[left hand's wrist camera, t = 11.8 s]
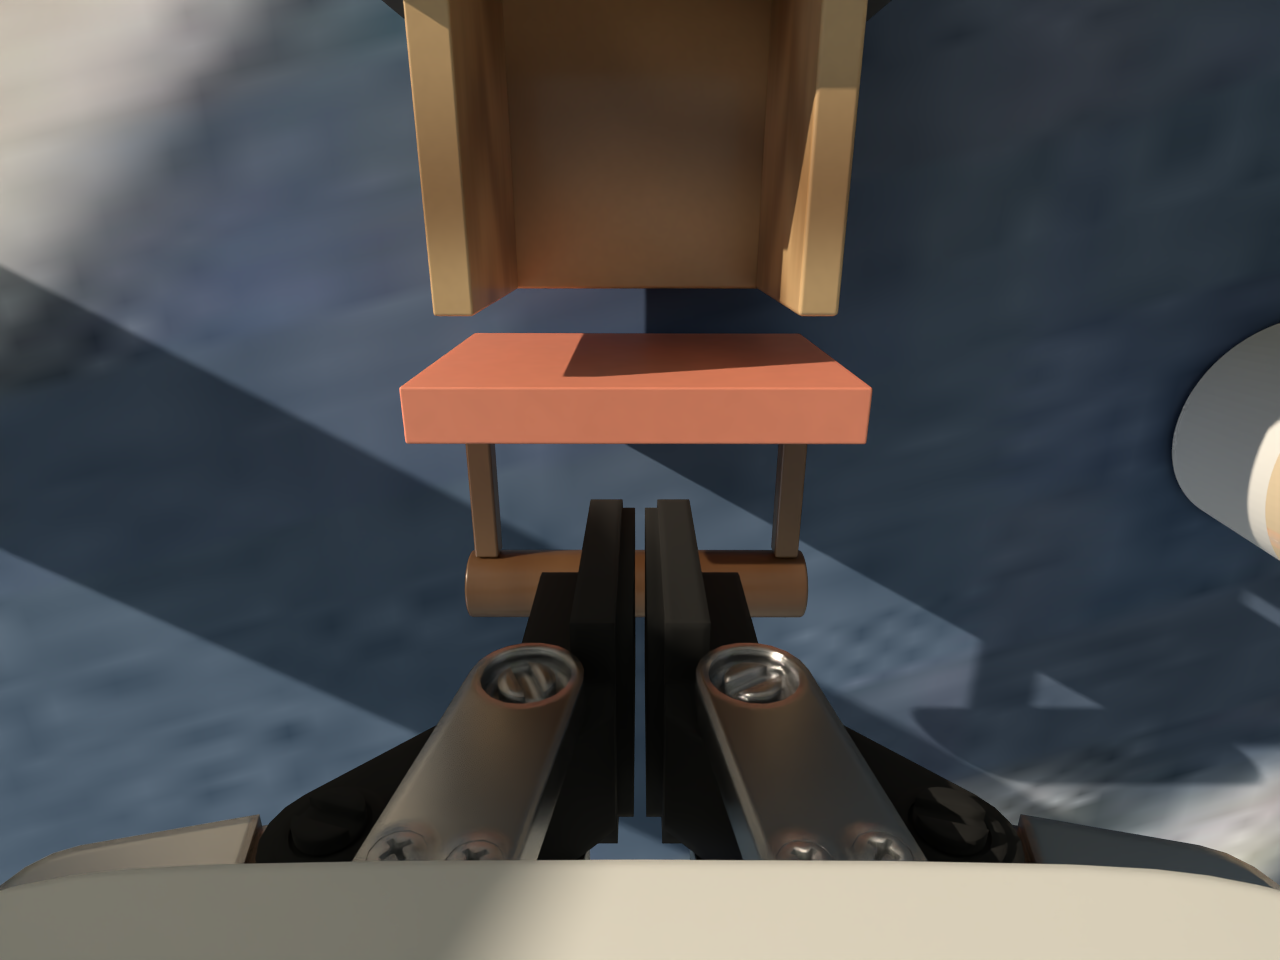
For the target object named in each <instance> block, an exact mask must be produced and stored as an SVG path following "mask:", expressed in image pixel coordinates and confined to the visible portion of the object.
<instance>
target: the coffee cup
mask: <svg viewBox="0 0 1280 960" xmlns="http://www.w3.org/2000/svg"><path fill="white" fill-rule="evenodd" d="M1172 460H1173V467H1174V472H1175V475H1176V479H1177V481H1178V483H1179V485H1180V487H1181V489H1182V491H1183V492H1184V494H1185V495H1186V496H1187V497H1188V499H1189V500H1190V501H1191V502H1192V503H1193V504H1194V505H1195V506H1197V507H1198V508H1199V509H1201V510H1202V511H1204V512H1205V513H1207V514H1208V515H1210V516H1211V517H1213V518H1215V519H1216V520H1218V521H1219V522H1221V523H1222V524H1224V525H1225V526H1227V527H1228V528H1230V529H1232V530H1233V531H1235V532H1236V533H1238V534H1239V535H1241V536H1242V537H1244V538H1245V539H1247V540H1249V541H1250V542H1252V543H1253V544H1255V545H1256V546H1258V547H1259V548H1261V549H1262V550H1264V551H1266V552H1267V553H1269V554H1270V555H1272V556H1273V557H1275V558H1276V559H1278V560H1279V561H1280V323H1279V324H1276V325H1273V326H1271V327H1269V328H1266V329H1264V330H1262V331H1260V332H1258V333H1256V334H1254V335H1252V336H1250V337H1249V338H1247V339H1245V340H1244V341H1242V342H1241V343H1239V344H1238V345H1236V346H1235V347H1234V348H1232V349H1231V350H1230V351H1228V352H1227V353H1226V354H1225V355H1224V356H1222V357H1221V358H1220V359H1219V360H1218V361H1217V362H1216V363H1215V364H1214V365H1213V366H1212V367H1211V368H1210V369H1209V370H1208V371H1207V372H1206V373H1205V375H1204V376H1203V377H1202V378H1201V379H1200V381H1199V382H1198V383H1197V385H1196V386H1195V388H1194V389H1193V391H1192V392H1191V394H1190V395H1189V397H1188V399H1187V401H1186V403H1185V405H1184V407H1183V409H1182V411H1181V413H1180V416H1179V418H1178V421H1177V424H1176V428H1175V432H1174V437H1173V445H1172Z"/></svg>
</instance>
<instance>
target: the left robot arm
mask: <svg viewBox="0 0 1280 960" xmlns="http://www.w3.org/2000/svg"><path fill="white" fill-rule="evenodd" d="M634 738H635V508H623V500H591V501H590V507H589V513H588V518H587V524H586V530H585V536H584V542H583V547H582V553H581V559H580V565H579V570H578V572H542V574H541V576H540V579H539V583H538V587H537V590H536V594H535V597H534V601H533V605H532V608H531V612H530V616H529V619H528V623H527V626H526V630H525V634H524V637H523V641H522V644H517V645H511V646H507V647H505V648H502V649H499V650H496V651H494V652H492V653H490V654H489V655H487V656H486V657H484V658H482V659H481V660H480V661H479V662H478V663H477V664H476V665H475V666H474V667H473V668H472V670H471V671H470V673H469V674H468V676H467V677H466V679H465V681H464V682H463V684H462V685H461V687H460V689H459V690H458V692H457V693H456V695H455V697H454V698H453V700H452V702H451V703H450V705H449V706H448V708H447V710H446V711H445V713H444V714H443V716H442V718H441V719H440V721H439V722H438V724H437V725H436V726H434V727H432V728H430V729H429V730H427V731H425V732H423V733H421V734H419V735H417V736H415V737H413V738H411V739H410V740H408V741H406V742H404V743H402V744H400V745H398V746H396V747H394V748H393V749H391V750H389V751H387V752H385V753H383V754H381V755H379V756H377V757H375V758H374V759H372V760H370V761H368V762H366V763H364V764H362V765H360V766H358V767H357V768H355V769H353V770H351V771H349V772H347V773H345V774H343V775H341V776H339V777H338V778H336V779H334V780H332V781H330V782H328V783H326V784H324V785H322V786H321V787H319V788H317V789H315V790H313V791H311V792H309V793H307V794H305V795H304V796H302V797H301V798H299V799H298V800H296V801H294V802H293V803H291V804H290V805H288V806H287V807H285V808H284V809H283V810H282V811H281V812H280V813H279V814H278V815H277V816H276V817H275V818H274V819H273V820H272V821H271V822H270V823H269V825H264V826H262V823H261V819H260V815H259V814H258V815H253V816H247V817H241V818H235V819H229V820H224V821H218V822H212V823H206V824H201V825H195V826H189V827H183V828H178V829H172V830H166V831H160V832H155V833H149V834H143V835H137V836H131V837H126V838H120V839H114V840H108V841H103V842H97V843H91V844H85V845H80V846H77V847H73V848H70V849H66V850H63V851H59V852H56V853H53V854H51V855H49V856H47V857H45V858H43V859H41V860H39V861H37V862H35V863H33V864H31V865H29V866H27V867H25V868H24V869H22V870H21V871H20V872H18V873H17V874H15V875H14V876H13V877H11V878H10V879H9V880H7V881H6V882H5V883H3V884H2V885H0V960H1280V885H1278V884H1277V883H1275V882H1274V881H1273V880H1271V879H1270V878H1269V877H1267V876H1266V875H1265V874H1263V873H1262V872H1260V871H1259V870H1258V869H1256V868H1255V867H1253V866H1251V865H1249V864H1247V863H1245V862H1243V861H1241V860H1239V859H1237V858H1235V857H1233V856H1231V855H1229V854H1227V853H1224V852H1221V851H1217V850H1214V849H1210V848H1207V847H1203V846H1200V845H1195V844H1189V843H1183V842H1177V841H1172V840H1166V839H1160V838H1154V837H1149V836H1143V835H1137V834H1131V833H1125V832H1120V831H1114V830H1108V829H1102V828H1097V827H1091V826H1085V825H1079V824H1074V823H1068V822H1062V821H1056V820H1051V819H1045V818H1039V817H1033V816H1027V815H1022V814H1021V815H1020V819H1019V823H1018V826H1016V825H1011V823H1010V822H1009V821H1008V820H1007V819H1006V818H1005V817H1004V816H1003V815H1002V814H1001V813H1000V812H999V811H998V810H997V809H996V808H995V807H993V806H992V805H990V804H989V803H987V802H986V801H984V800H982V799H981V798H979V797H978V796H976V795H975V794H973V793H971V792H969V791H967V790H965V789H963V788H961V787H959V786H958V785H956V784H954V783H952V782H950V781H948V780H946V779H944V778H942V777H941V776H939V775H937V774H935V773H933V772H931V771H929V770H927V769H925V768H923V767H922V766H920V765H918V764H916V763H914V762H912V761H910V760H908V759H906V758H905V757H903V756H901V755H899V754H897V753H895V752H893V751H891V750H889V749H887V748H886V747H884V746H882V745H880V744H878V743H876V742H874V741H872V740H870V739H869V738H867V737H865V736H863V735H861V734H859V733H857V732H855V731H853V730H851V729H850V728H848V727H846V726H844V725H843V724H842V722H841V721H840V719H839V718H838V716H837V714H836V713H835V711H834V710H833V708H832V706H831V705H830V703H829V702H828V700H827V698H826V697H825V695H824V693H823V692H822V690H821V689H820V687H819V685H818V684H817V682H816V681H815V679H814V677H813V676H812V674H811V673H810V671H809V670H808V668H807V667H806V666H805V665H804V664H803V663H802V662H801V661H800V660H799V659H798V658H796V657H794V656H793V655H791V654H790V653H788V652H786V651H784V650H781V649H778V648H775V647H773V646H769V645H763V644H758V641H757V637H756V634H755V630H754V626H753V623H752V619H751V616H750V612H749V608H748V605H747V601H746V597H745V594H744V590H743V587H742V583H741V579H740V576H739V574H738V572H702V570H701V565H700V559H699V553H698V547H697V542H696V536H695V530H694V524H693V518H692V513H691V507H690V501H689V500H657V508H645V738H646V817H661V820H662V843H682V844H684V845H685V846H686V847H687V848H689V849H690V860H590V849H591V848H593V847H594V846H595V845H596V844H598V843H618V820H619V817H634Z"/></svg>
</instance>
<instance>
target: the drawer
mask: <svg viewBox="0 0 1280 960" xmlns="http://www.w3.org/2000/svg"><path fill="white" fill-rule="evenodd" d="M867 4H868V0H403V5H404V15H405V26H406V36H407V46H408V56H409V67H410V77H411V87H412V97H413V108H414V118H415V128H416V138H417V149H418V159H419V169H420V179H421V190H422V200H423V210H424V220H425V231H426V241H427V251H428V261H429V272H430V282H431V292H432V302H433V313H434V315H436V316H472V315H474V314H476V313H478V312H479V311H481V310H483V309H484V308H486V307H488V306H489V305H491V304H492V303H494V302H496V301H497V300H499V299H501V298H502V297H504V296H506V295H507V294H509V293H511V292H512V291H514V290H515V289H517V288H720V289H759V290H761V291H762V292H764V293H765V294H767V295H768V296H770V297H772V298H773V299H775V300H776V301H778V302H779V303H781V304H783V305H784V306H786V307H787V308H789V309H790V310H792V311H794V312H795V313H797V314H798V315H800V316H835V315H837V313H838V307H839V297H840V287H841V276H842V266H843V255H844V245H845V234H846V224H847V213H848V203H849V192H850V182H851V171H852V161H853V151H854V140H855V130H856V119H857V109H858V98H859V88H860V77H861V67H862V56H863V46H864V35H865V25H866V15H867ZM400 398H401V406H402V415H403V423H404V432H405V440H406V443H408V444H466V454H467V466H468V477H469V488H470V500H471V511H472V523H473V534H474V545H475V550H474V551H472V552H471V554H470V556H469V559H468V563H467V568H466V576H465V599H466V606H467V610H468V613H469V615H470V616H472V617H529V616H530V612H531V608H532V605H533V601H534V597H535V594H536V590H537V587H538V583H539V579H540V576H541V574H542V572H578V570H579V565H580V559H581V553H582V550H501V549H502V537H501V523H500V509H499V496H498V482H497V468H496V455H495V444H779V445H778V459H777V473H776V487H775V501H774V515H773V529H772V543H771V548H772V550H698V553H699V559H700V565H701V570H702V572H738V574H739V576H740V579H741V583H742V587H743V590H744V594H745V597H746V601H747V605H748V608H749V612H750V616H751V617H802V616H803V615H804V613H805V610H806V606H807V600H808V575H807V567H806V562H805V559H804V556H803V554H802V552H801V551H799V550H798V547H799V535H800V524H801V512H802V501H803V489H804V477H805V466H806V454H807V444H865V443H866V441H867V432H868V423H869V415H870V406H871V398H872V388H871V387H870V386H869V385H867V384H866V383H865V382H863V381H862V380H861V379H859V378H858V377H857V376H855V375H854V374H853V373H851V372H850V371H849V370H847V369H846V368H845V367H843V366H842V365H841V364H839V363H838V362H837V361H835V360H834V359H833V358H831V357H830V356H829V355H827V354H826V353H825V352H823V351H822V350H821V349H819V348H818V347H817V346H815V345H814V344H813V343H811V342H810V341H809V340H807V339H806V338H805V337H803V336H802V335H801V334H641V333H475V334H473V335H472V336H470V337H469V338H468V339H466V340H465V341H463V342H462V343H461V344H459V345H458V346H457V347H455V348H454V349H452V350H451V351H450V352H448V353H447V354H445V355H444V356H443V357H441V358H440V359H439V360H437V361H436V362H434V363H433V364H432V365H430V366H429V367H428V368H426V369H425V370H423V371H422V372H421V373H419V374H418V375H416V376H415V377H414V378H412V379H411V380H410V381H408V382H407V383H405V384H404V385H403V386H401V387H400ZM635 617H645V550H635Z"/></svg>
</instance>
